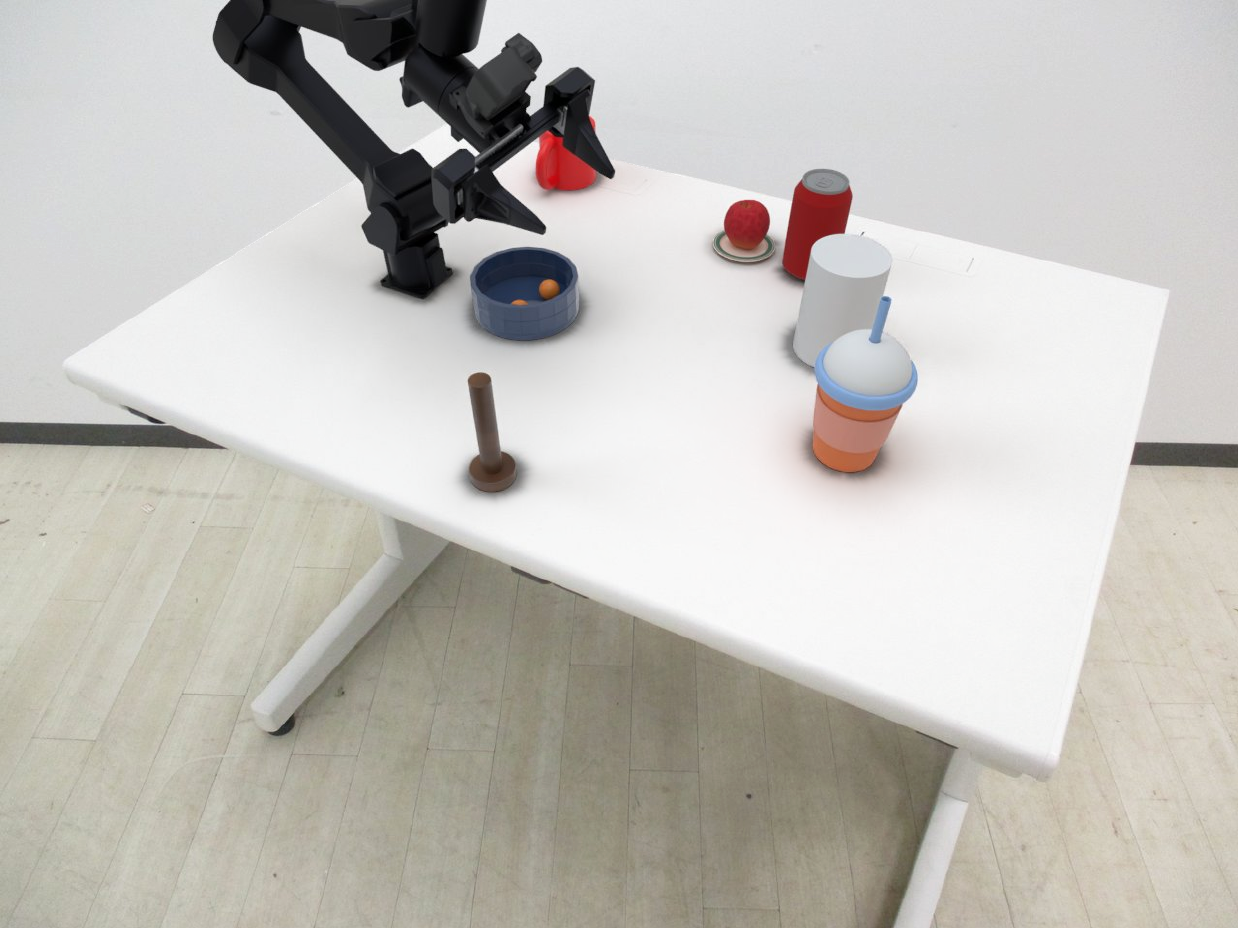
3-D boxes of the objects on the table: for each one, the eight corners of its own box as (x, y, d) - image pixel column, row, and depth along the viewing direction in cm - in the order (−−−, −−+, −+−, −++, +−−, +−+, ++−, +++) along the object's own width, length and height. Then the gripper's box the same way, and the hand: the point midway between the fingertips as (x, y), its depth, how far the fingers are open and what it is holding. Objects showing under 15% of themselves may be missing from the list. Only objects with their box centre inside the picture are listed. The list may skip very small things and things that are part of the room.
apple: (704, 256, 107) (708, 210, 103) (723, 226, 112) (728, 180, 108) (765, 270, 105) (772, 223, 100) (781, 238, 110) (789, 192, 106)
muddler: (461, 482, 80) (443, 386, 72) (486, 453, 83) (471, 357, 74) (500, 498, 79) (486, 402, 70) (525, 467, 82) (514, 372, 73)
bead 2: (535, 301, 99) (534, 283, 97) (546, 290, 101) (545, 273, 99) (553, 306, 98) (552, 289, 97) (563, 296, 100) (562, 278, 98)
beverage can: (844, 265, 106) (864, 175, 98) (822, 291, 102) (842, 200, 94) (794, 249, 109) (810, 160, 100) (771, 274, 105) (786, 184, 96)
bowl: (454, 322, 98) (448, 289, 94) (510, 269, 105) (506, 237, 102) (545, 352, 94) (543, 319, 91) (597, 295, 101) (596, 263, 98)
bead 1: (505, 321, 96) (504, 304, 95) (516, 310, 98) (515, 293, 96) (524, 327, 96) (522, 310, 94) (534, 316, 97) (533, 298, 95)
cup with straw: (891, 491, 80) (946, 339, 67) (794, 476, 81) (829, 324, 68) (889, 425, 86) (939, 275, 73) (799, 413, 87) (832, 263, 74)
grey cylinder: (874, 337, 96) (900, 245, 87) (856, 380, 91) (882, 285, 82) (804, 319, 98) (823, 227, 90) (783, 359, 93) (801, 265, 85)
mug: (517, 196, 118) (512, 141, 112) (557, 159, 125) (554, 106, 119) (567, 208, 115) (565, 153, 110) (605, 170, 123) (604, 117, 117)
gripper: (375, 83, 69) (510, 208, 68) (536, -24, 75) (664, 88, 74) (389, 169, 80) (506, 279, 78) (529, 69, 86) (641, 169, 84)
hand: (579, 202), depth 78 cm, fingers open, 9 cm apart
